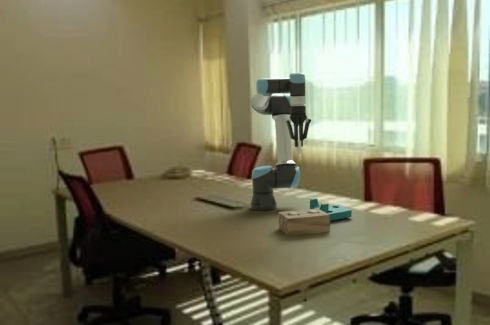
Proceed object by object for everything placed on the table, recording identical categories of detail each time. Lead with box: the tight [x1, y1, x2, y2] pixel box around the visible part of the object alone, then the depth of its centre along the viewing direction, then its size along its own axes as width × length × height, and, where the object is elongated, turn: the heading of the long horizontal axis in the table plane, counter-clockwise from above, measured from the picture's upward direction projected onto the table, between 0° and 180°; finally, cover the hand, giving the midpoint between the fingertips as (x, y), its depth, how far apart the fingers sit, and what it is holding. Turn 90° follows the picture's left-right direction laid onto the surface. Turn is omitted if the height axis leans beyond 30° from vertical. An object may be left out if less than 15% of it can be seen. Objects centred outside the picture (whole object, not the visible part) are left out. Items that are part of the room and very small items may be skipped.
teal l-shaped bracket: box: [309, 197, 353, 222], centre depth 267 cm, size 18×11×10 cm, turn 117°
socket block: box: [278, 208, 331, 237], centre depth 248 cm, size 14×20×8 cm
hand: (299, 153), depth 259 cm, fingers closed
